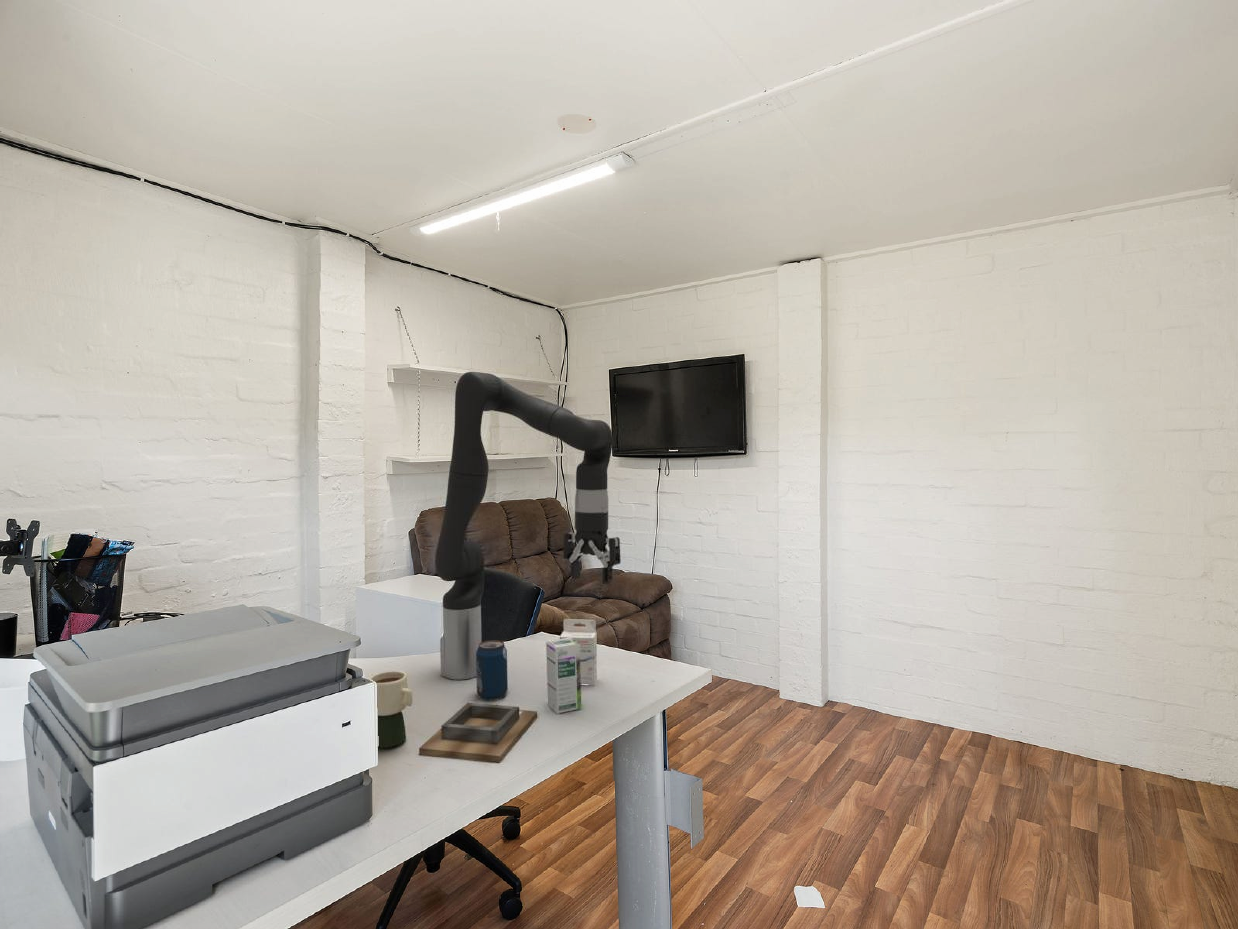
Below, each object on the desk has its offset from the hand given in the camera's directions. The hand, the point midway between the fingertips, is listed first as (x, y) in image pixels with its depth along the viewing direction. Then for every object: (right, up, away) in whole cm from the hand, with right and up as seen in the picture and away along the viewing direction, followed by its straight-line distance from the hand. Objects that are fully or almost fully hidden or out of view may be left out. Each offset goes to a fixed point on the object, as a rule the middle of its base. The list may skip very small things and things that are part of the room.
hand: (591, 581), depth 147 cm
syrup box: (-6, -27, -4) cm, 28 cm away
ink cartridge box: (-3, -26, +11) cm, 29 cm away
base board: (-21, -27, -17) cm, 38 cm away
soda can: (-23, -27, +3) cm, 35 cm away
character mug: (-38, -28, -21) cm, 51 cm away
